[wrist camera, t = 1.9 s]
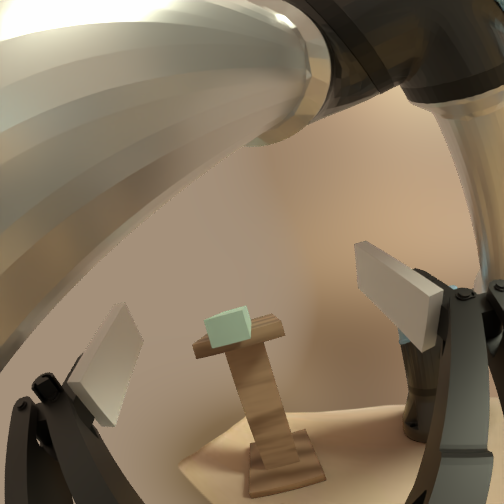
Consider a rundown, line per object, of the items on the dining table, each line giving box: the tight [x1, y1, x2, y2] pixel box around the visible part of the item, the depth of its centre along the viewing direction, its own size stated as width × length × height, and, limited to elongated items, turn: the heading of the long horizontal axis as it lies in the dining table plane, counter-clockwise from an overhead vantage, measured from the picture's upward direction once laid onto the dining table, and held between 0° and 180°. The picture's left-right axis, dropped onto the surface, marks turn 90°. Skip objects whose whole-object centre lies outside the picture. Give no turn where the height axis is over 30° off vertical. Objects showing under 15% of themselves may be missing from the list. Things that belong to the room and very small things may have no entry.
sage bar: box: [204, 306, 251, 348], centre depth 36 cm, size 19×4×3 cm, turn 0°
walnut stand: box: [192, 314, 326, 498], centre depth 41 cm, size 18×12×28 cm, turn 0°
